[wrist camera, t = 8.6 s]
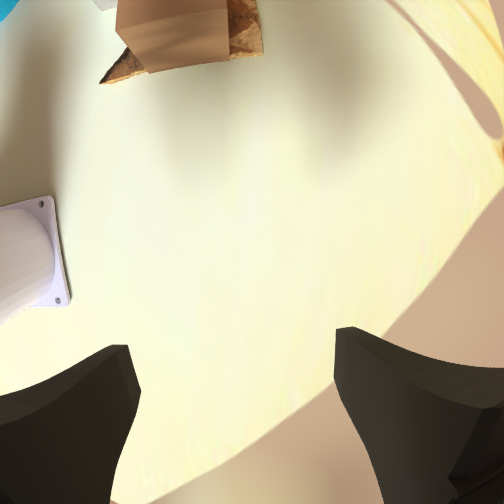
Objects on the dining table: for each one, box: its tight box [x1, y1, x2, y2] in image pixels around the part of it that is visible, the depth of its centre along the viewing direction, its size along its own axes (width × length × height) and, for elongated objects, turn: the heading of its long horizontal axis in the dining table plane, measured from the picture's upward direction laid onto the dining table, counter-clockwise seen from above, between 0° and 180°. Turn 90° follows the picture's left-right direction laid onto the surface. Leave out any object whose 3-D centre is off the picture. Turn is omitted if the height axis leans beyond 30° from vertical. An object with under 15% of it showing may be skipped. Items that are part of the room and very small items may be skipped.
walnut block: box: [115, 0, 230, 74], centre depth 12 cm, size 5×5×6 cm
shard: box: [99, 0, 263, 84], centre depth 16 cm, size 11×8×2 cm
